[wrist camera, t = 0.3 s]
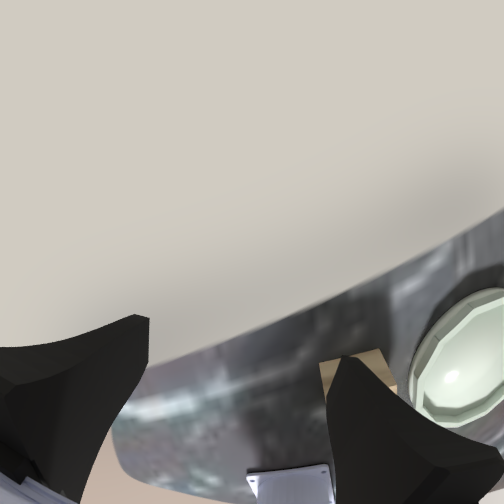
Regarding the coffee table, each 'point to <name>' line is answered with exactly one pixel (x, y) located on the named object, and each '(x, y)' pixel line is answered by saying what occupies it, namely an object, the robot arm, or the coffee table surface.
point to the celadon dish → (461, 361)
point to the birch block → (370, 359)
